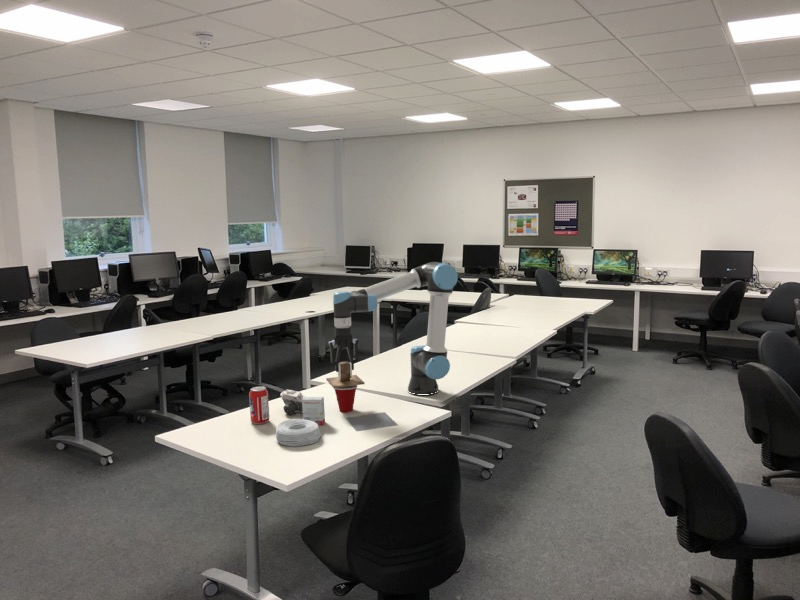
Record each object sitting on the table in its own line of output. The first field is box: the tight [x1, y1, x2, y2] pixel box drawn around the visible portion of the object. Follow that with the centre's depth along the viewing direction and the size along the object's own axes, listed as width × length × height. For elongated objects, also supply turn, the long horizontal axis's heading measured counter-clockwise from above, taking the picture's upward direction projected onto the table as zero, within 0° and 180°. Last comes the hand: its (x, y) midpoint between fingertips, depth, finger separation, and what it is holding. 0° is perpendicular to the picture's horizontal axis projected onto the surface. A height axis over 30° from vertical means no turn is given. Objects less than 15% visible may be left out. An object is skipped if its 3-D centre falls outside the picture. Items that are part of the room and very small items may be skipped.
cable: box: [275, 418, 321, 447], centre depth 237 cm, size 18×18×6 cm
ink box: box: [302, 396, 326, 427], centre depth 253 cm, size 9×5×12 cm, turn 84°
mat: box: [345, 411, 399, 432], centre depth 254 cm, size 18×18×1 cm
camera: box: [280, 389, 307, 416], centre depth 269 cm, size 9×16×10 cm, turn 49°
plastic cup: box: [333, 385, 358, 413], centre depth 269 cm, size 11×11×12 cm
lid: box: [325, 361, 365, 389], centre depth 268 cm, size 14×14×9 cm
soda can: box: [248, 386, 270, 425], centre depth 258 cm, size 8×8×15 cm
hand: (345, 377), depth 268 cm, fingers closed on lid, 4 cm apart
